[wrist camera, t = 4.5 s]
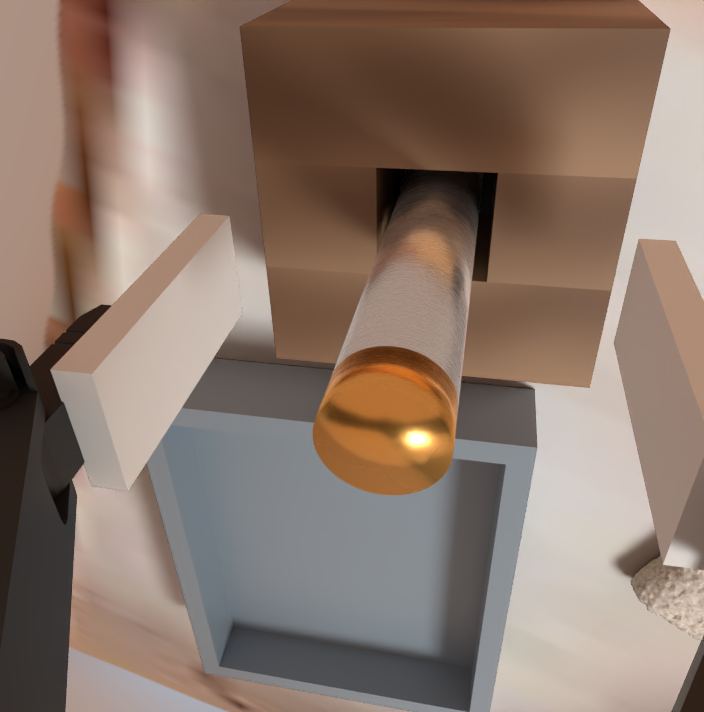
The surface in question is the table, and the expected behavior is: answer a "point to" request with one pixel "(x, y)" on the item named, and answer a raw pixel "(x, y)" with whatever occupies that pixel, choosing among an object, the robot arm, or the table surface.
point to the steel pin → (406, 344)
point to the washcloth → (673, 594)
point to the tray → (342, 544)
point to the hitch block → (453, 160)
